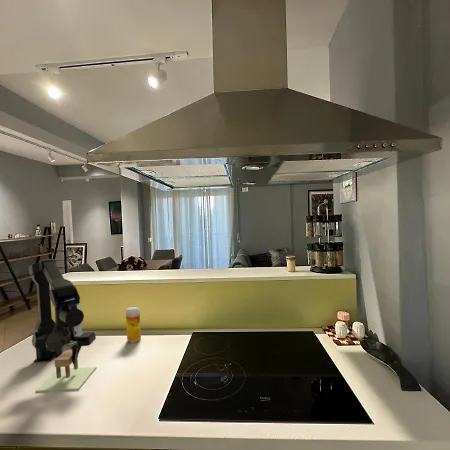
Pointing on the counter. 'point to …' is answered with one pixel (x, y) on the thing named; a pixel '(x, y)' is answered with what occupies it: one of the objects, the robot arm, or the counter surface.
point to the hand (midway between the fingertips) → (67, 363)
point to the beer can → (133, 324)
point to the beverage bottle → (76, 327)
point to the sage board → (67, 380)
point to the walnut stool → (64, 363)
